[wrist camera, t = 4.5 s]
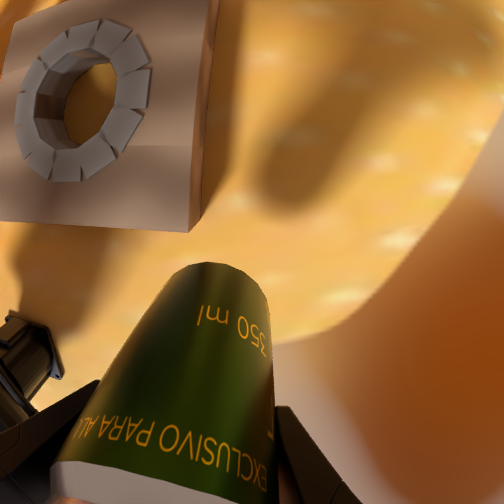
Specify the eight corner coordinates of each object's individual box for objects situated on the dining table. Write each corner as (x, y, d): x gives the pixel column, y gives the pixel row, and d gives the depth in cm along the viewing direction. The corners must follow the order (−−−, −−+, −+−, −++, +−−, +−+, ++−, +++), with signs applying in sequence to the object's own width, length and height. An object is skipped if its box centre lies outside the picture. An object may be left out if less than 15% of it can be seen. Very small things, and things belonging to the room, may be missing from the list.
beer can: (156, 335, 15) (63, 535, 4) (171, 243, 14) (-3, 456, 2) (252, 361, 16) (244, 583, 4) (283, 273, 14) (330, 547, 3)
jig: (199, 220, 20) (187, 233, 16) (22, 211, 20) (-7, 221, 16) (220, -2, 15) (213, -28, 11) (38, 32, 15) (13, 22, 11)
